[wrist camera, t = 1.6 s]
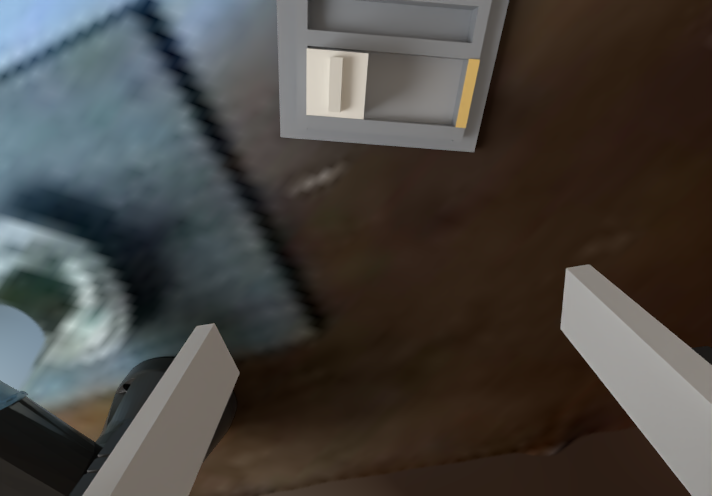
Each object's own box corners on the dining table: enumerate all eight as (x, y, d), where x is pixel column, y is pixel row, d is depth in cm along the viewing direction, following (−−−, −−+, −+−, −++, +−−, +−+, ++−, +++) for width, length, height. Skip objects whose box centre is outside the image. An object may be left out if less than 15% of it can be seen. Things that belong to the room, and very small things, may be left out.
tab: (315, 109, 28) (304, 116, 22) (316, 53, 26) (304, 47, 21) (363, 112, 28) (363, 120, 22) (367, 57, 26) (368, 52, 21)
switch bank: (283, 135, 30) (276, 140, 27) (276, -152, 22) (264, -183, 19) (470, 149, 30) (480, 156, 28) (532, -128, 22) (554, -155, 19)
